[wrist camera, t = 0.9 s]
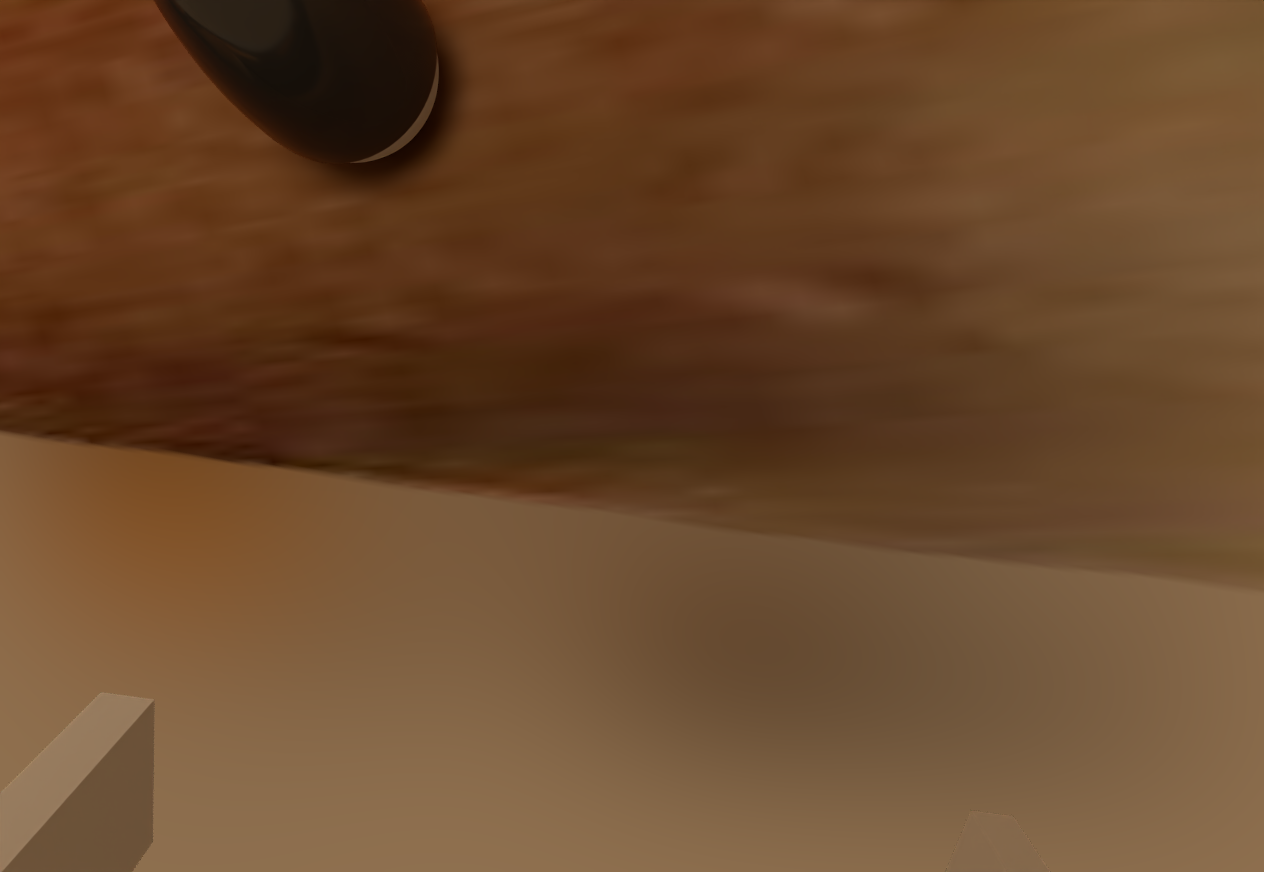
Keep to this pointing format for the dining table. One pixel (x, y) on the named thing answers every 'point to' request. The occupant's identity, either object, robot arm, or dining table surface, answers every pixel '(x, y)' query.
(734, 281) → the dining table surface
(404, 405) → the dining table surface
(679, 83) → the dining table surface
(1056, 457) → the dining table surface
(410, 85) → the black tall rounded piece
